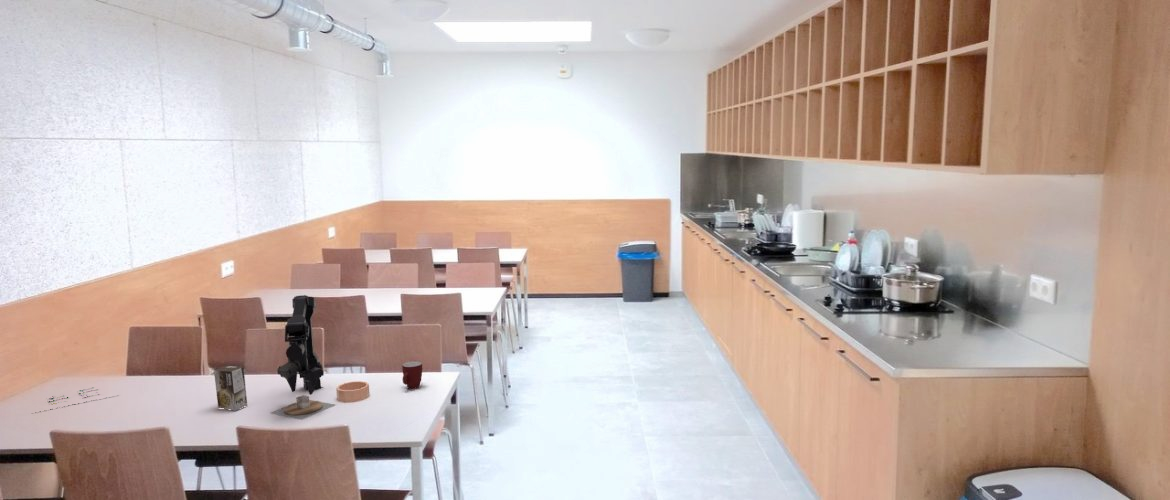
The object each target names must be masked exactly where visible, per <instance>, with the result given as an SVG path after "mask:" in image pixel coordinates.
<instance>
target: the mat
mask: <svg viewBox="0 0 1170 500" xmlns="http://www.w3.org/2000/svg"><path fill="white" fill-rule="evenodd" d="M309 401H314V400H311V399H309ZM321 402H322V404H323V407H322V409H320V410H319V411H316V412H314V413H310V414H305V415H287V414H285V413H284V408H285V407H286V406H284V407H282V408H280V409H277V410H274V411H271V412H269V414H271V415H277V416H280V417H281V416H283V417H286V418H292V419H297V420H304V419H307V418H309V417H311V416H313V415H316V414H319V413H321V412H323V411H325V410H328V409H330V408H333V407H335V406H336V404H335V403H330V402H329V403H328V402H324V401H321Z"/></svg>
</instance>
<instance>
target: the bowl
mask: <svg viewBox="0 0 1170 500" xmlns="http://www.w3.org/2000/svg"><path fill="white" fill-rule="evenodd" d="M335 389H336V400H338V401H339V402H341V403H355V402H360V401H363V400H366V399H368V398H369V397H370V395H371V394H370V393H371V392H370V384H369V383H368V382H367V381H361V380H357V381H355V380H354V381H349V382H344V383H342V384H341V383H340V384H339V385H338V386H337V387H336V388H335Z"/></svg>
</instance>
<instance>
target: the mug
mask: <svg viewBox="0 0 1170 500" xmlns="http://www.w3.org/2000/svg"><path fill="white" fill-rule="evenodd" d="M401 369H402V384H404V385H405V386H407V387H408V389H410V390H414V389H418V388H419V387H420V385H421V382H422V377H423V362H421V361H415V360H414V361H406V362H404V363H402V366H401Z"/></svg>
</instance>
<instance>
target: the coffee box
mask: <svg viewBox="0 0 1170 500" xmlns="http://www.w3.org/2000/svg"><path fill="white" fill-rule="evenodd" d="M213 374H214V382H215V390H216V400H217V408H224V409H231V410H237V409H240V408H242V407H244V406H247V407H248V400H247V399H248V397H247V389H246V379H245V368H244V366H237V365H224V366H222V367H221V366H220V367H219V368H216V369H214V370H213ZM244 408H245V407H244ZM242 409H243V408H242ZM240 410H241V409H240ZM237 411H238V410H237Z"/></svg>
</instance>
